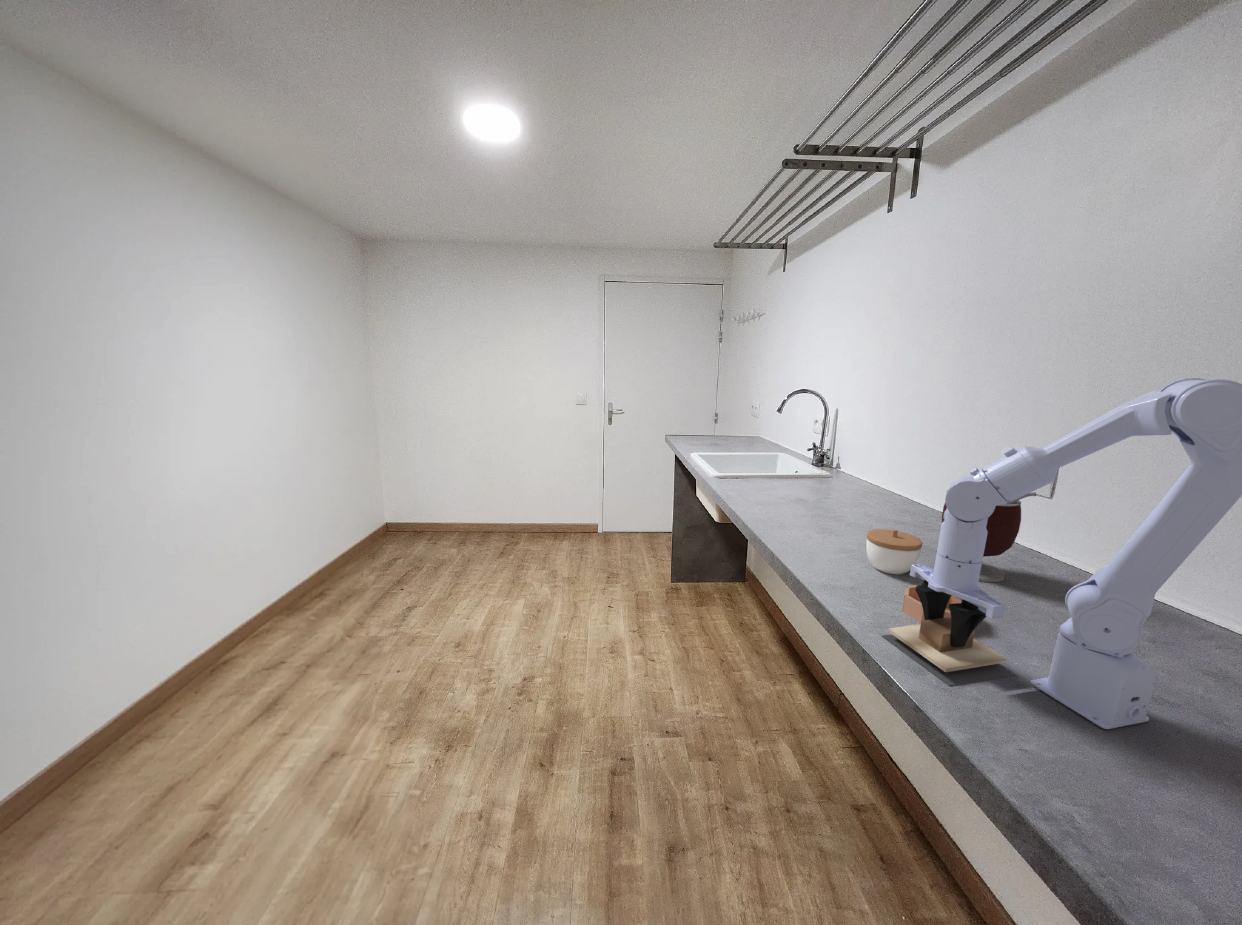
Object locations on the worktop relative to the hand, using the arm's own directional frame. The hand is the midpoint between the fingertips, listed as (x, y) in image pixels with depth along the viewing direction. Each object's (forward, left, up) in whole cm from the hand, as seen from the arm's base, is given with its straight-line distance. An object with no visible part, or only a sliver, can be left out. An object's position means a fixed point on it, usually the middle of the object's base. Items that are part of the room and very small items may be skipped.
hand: (944, 637), depth 77 cm
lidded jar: (+30, -16, -3) cm, 34 cm away
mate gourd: (+26, -35, -3) cm, 44 cm away
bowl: (+11, -9, -3) cm, 14 cm away
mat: (0, 0, -3) cm, 3 cm away
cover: (0, 0, -2) cm, 2 cm away
